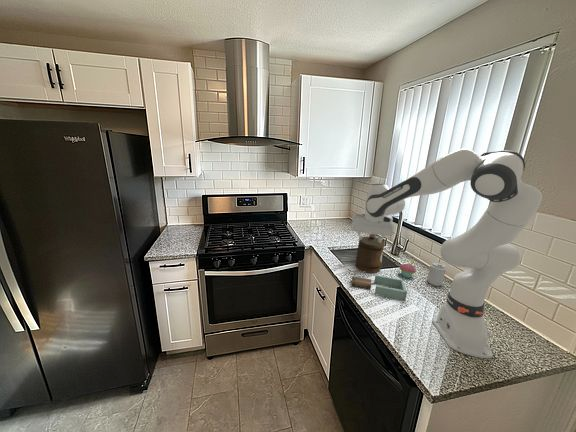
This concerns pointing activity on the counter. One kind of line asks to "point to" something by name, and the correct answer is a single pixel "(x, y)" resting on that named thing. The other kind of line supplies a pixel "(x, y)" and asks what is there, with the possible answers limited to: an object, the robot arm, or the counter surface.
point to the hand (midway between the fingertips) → (369, 240)
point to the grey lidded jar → (436, 273)
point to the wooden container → (369, 254)
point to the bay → (390, 291)
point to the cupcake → (407, 269)
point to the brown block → (361, 282)
